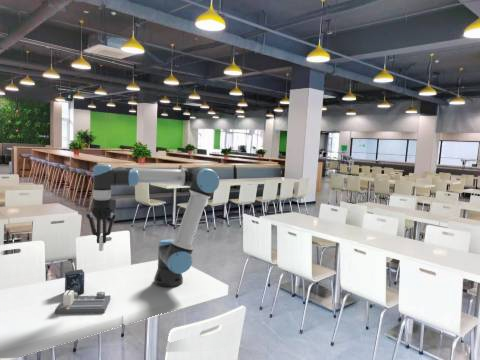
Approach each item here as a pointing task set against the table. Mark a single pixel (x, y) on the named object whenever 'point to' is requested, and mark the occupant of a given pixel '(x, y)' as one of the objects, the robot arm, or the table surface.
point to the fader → (68, 298)
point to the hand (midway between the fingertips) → (101, 250)
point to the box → (74, 281)
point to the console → (85, 304)
